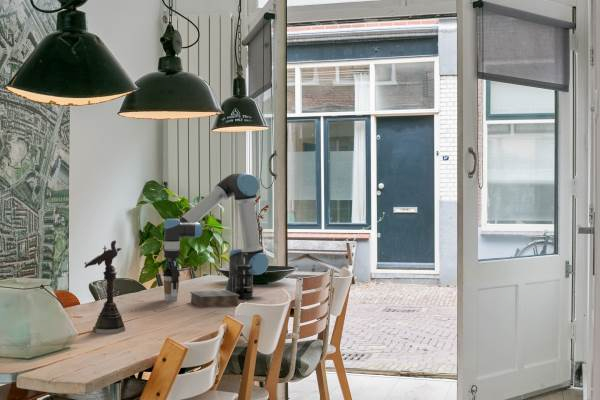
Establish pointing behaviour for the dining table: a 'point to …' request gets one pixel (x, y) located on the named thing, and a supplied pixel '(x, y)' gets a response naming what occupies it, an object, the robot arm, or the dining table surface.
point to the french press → (243, 282)
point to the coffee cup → (169, 286)
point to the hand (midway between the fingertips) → (171, 294)
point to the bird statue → (108, 295)
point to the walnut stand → (214, 298)
